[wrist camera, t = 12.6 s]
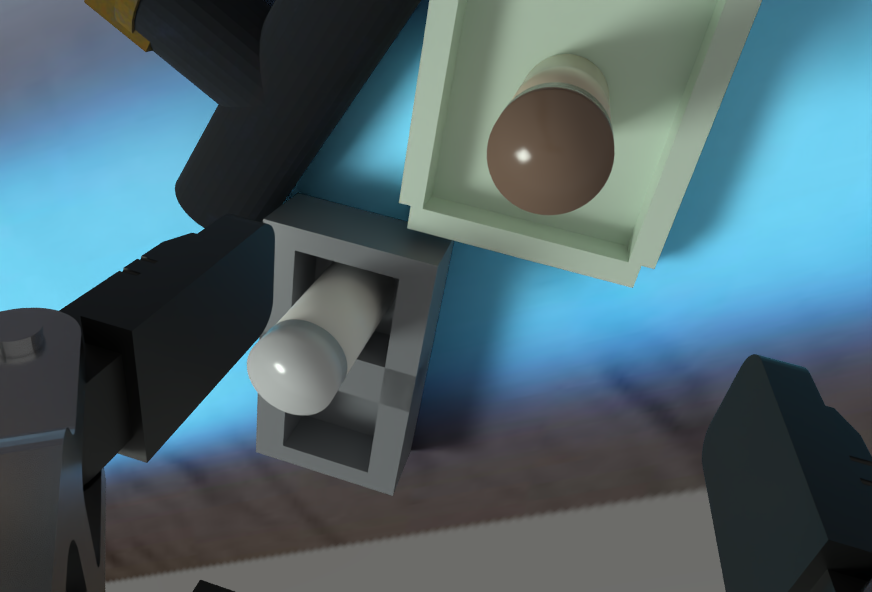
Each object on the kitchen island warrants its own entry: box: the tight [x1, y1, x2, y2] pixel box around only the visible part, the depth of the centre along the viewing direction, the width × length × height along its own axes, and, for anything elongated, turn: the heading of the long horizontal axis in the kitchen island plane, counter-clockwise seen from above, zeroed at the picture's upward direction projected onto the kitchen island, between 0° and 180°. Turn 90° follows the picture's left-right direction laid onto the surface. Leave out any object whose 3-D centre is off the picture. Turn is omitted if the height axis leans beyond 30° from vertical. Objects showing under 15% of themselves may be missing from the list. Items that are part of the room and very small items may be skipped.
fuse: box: [247, 261, 395, 415], centre depth 31 cm, size 4×4×9 cm
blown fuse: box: [487, 54, 615, 215], centre depth 24 cm, size 4×4×9 cm
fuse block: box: [256, 193, 454, 496], centre depth 36 cm, size 16×9×4 cm, turn 170°
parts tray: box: [399, 0, 762, 288], centre depth 27 cm, size 14×12×2 cm
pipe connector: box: [84, 0, 421, 228], centre depth 29 cm, size 12×5×15 cm
